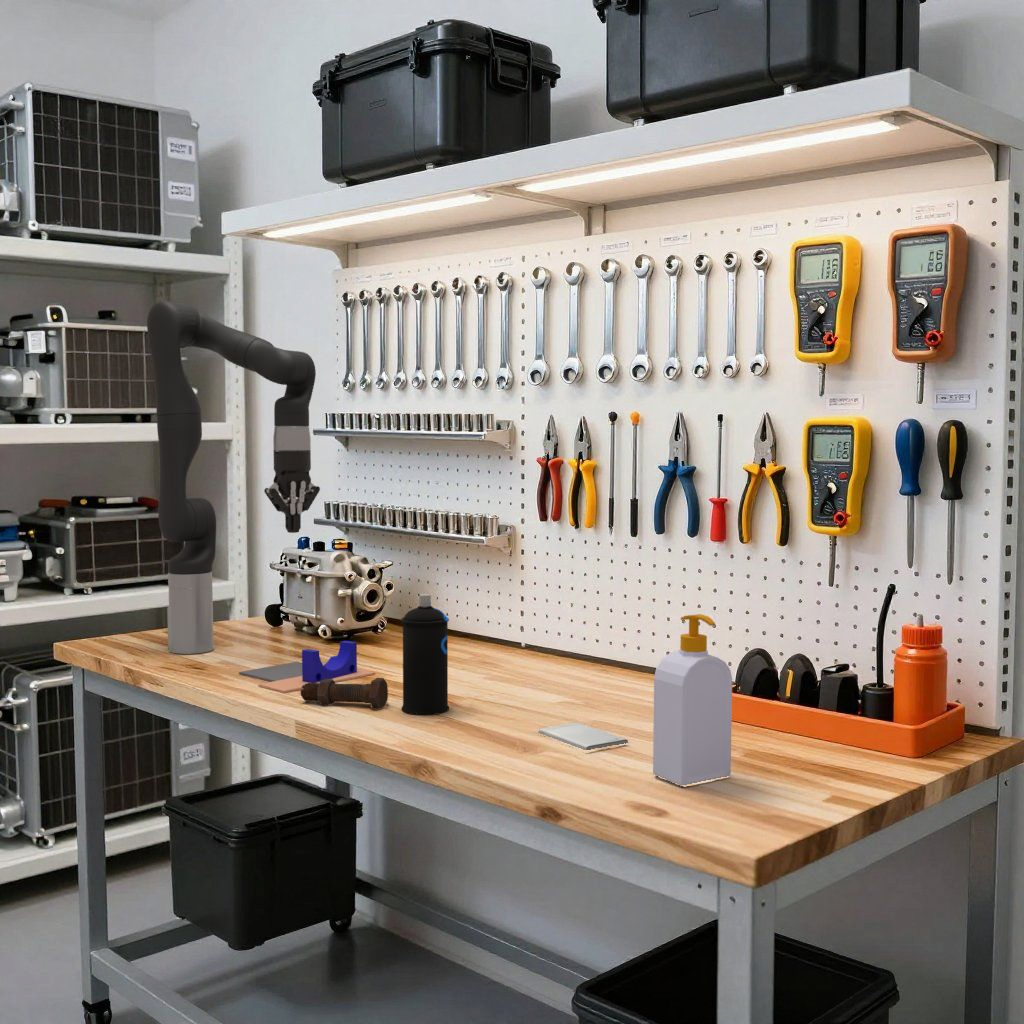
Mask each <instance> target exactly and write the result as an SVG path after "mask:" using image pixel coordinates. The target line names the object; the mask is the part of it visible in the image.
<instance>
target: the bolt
mask: <svg viewBox="0 0 1024 1024" xmlns="http://www.w3.org/2000/svg"><path fill="white" fill-rule="evenodd" d="M302 688H304V689H302V690H300V696H301V698H302V699H303V700H304V702H305V701H306V702H318V704H320V706H331V705H333V704H334V703H340V702H341V703H362V704H363V703H364V704H370V706H371V709H372V710H379V709H383V708H385V707H386V706H387V705H386V704H387V701H388V698H389V696H388V695H389V689H388V683H387V680H386V679H385V678H384V677H376V678H374V679H372V680H371V681H370V683H364V684H363V683H337V682H336V683H335V682H334V680H333V679H324V680H322V681H321V682H320V683H307V684H305V685H303V686H302Z"/></svg>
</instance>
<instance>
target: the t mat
mask: <svg viewBox="0 0 1024 1024" xmlns="http://www.w3.org/2000/svg"><path fill="white" fill-rule="evenodd" d="M238 674H239V675H242V676H246V677H250V678H254V679H258V680H262V681H267V682H263V683H259V684H258V687H259V688H263V689H267V690H271V691H275V692H278V693H283V694H287V693H291V692H296V691H301V690H303V689H304V688H302V686H303V685H305V684H307V683H309V682H304V681H302V661H301V662H300V661H292V662H287V663H282V664H275V665H268V666H264V667H259V668H254V669H253V668H252V669H248V670H243V671H239V672H238ZM374 675H375V676H376V672H374V671H370V670H365V669H361V668H357V672H356V673H352V674H348V675H344V676H340V677H337V678H333V680H334V682H335V683H336V684H337V683H339V682H345V681H350V680H354V679H358V678H364V677H370V676H374ZM317 683H320V682H317Z"/></svg>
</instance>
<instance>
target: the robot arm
mask: <svg viewBox="0 0 1024 1024" xmlns="http://www.w3.org/2000/svg"><path fill="white" fill-rule="evenodd" d="M146 320H147V321H146V327H147V337H148V345H149V350H150V355H151V361H152V368H153V377H154V380H153V381H154V388H155V389H154V391H155V404H156V405H155V406H156V409H155V410H156V412H155V413H156V427H157V439H158V440H157V441H158V456H159V457H158V458H159V487H158V489H159V490H158V491H159V492H158V493H159V494H158V511H157V512H158V525H159V529H160V532H161V534H162V536H163V538H164V539H166V541H168V542H171V543H183V542H184V546H183V548H182V549H181V551H180V552H178V553H177V554H176V555H174V556H173V557H171V558H170V559H169V560H168V563H167V571H168V572H167V573H168V575H167V576H168V578H167V579H168V580H167V581H168V606H167V608H166V609H167V615H166V616H167V649H168V650H169V652H170V653H174V654H183V655H191V654H201V653H207V652H212V651H213V650H214V607H213V606H214V605H213V603H214V601H213V600H214V597H213V593H214V592H213V563H214V561H215V557H216V545H217V543H216V541H217V517H216V511H215V508H214V506H213V504H212V503H211V502H210V501H209V500H208V499H206V498H203V497H191V498H189V497H187V477H188V472H189V469H190V467H191V464H192V462H193V460H194V459H195V457H196V454H197V452H198V450H199V447H200V444H201V443H202V442H201V441H202V438H203V437H202V436H203V427H202V426H203V423H202V411H201V406H200V401H199V399H198V397H197V395H196V393H195V390H194V388H193V386H192V385H191V384H190V381H189V379H188V377H187V375H186V373H185V370H184V367H183V363H182V353H181V348H182V347H185V348H186V347H193V348H200V349H205V350H209V351H212V352H214V353H217V354H218V355H219V356H221V357H222V358H224V359H225V360H226V361H228V362H230V363H231V364H234V365H236V366H237V367H240V368H243V369H246V370H248V371H251V372H254V373H256V374H258V375H259V376H261V377H262V378H264V379H265V380H267V381H270V382H272V383H275V384H278V385H282V386H284V385H285V386H286V387H285V392H284V395H283V397H279V398H277V399H276V400H275V402H274V405H273V406H274V407H273V408H274V409H273V410H274V414H273V415H274V417H273V419H274V421H273V422H274V423H273V424H274V428H273V429H274V430H273V435H272V436H273V440H272V441H273V448H272V449H273V470H274V472H275V475H274V477H273V483H272V484H271V485H270V486H269V487H266V488H264V489H263V491H264V494H265V495H266V496H267V498H268V499H269V501H270V502H271V504H272V506H274V509H275V510H276V511H277V512H281V513H283V514H284V515H285V516H284V520H285V526H284V527H285V530H286V531H287V533H291V534H294V533H299V532H300V530H301V527H302V526H301V525H302V523H301V522H302V520H301V519H302V517H301V516H302V515H301V514H302V513H303V512H305V511H307V512H308V510H309V509H310V508H311V506H312V504H313V503H314V501H315V500H316V498H317V496H318V494H319V493H320V491H321V487H320V486H318V485H315V484H314V483H312V482H311V481H312V477H311V475H310V471H311V469H312V464H311V463H312V459H311V458H312V457H311V455H312V454H311V452H312V451H311V450H312V449H311V448H312V446H311V441H312V440H311V431H310V409H309V407H310V403H311V399H312V396H313V392H314V387H315V383H316V371H317V370H316V366H315V362H314V360H313V358H312V356H311V355H310V354H309V353H306V352H304V351H299V350H298V351H297V350H287V349H282V348H280V347H276V346H274V345H273V343H271V342H270V341H267V340H266V339H264V338H260V337H258V336H256V335H253V334H251V333H247V332H244V331H243V330H242V331H241V330H239V329H235V328H232V327H230V326H228V325H225V324H223V323H221V322H220V321H218V320H217V319H214V318H212V317H210V316H209V315H208V314H205V313H204V312H202V311H201V310H199V309H198V308H196V307H194V306H192V305H190V304H187V303H183V302H182V303H181V302H174V301H168V300H159V301H157V302H155V303H153V305H152V306H151V307H150V310H149V311H148V315H147V319H146Z"/></svg>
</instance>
